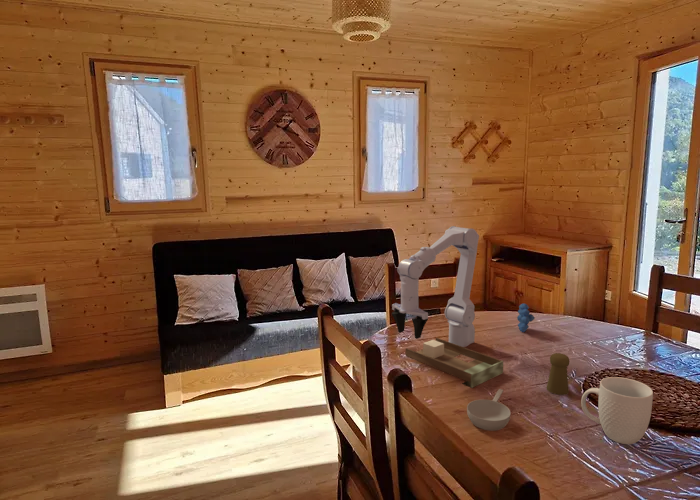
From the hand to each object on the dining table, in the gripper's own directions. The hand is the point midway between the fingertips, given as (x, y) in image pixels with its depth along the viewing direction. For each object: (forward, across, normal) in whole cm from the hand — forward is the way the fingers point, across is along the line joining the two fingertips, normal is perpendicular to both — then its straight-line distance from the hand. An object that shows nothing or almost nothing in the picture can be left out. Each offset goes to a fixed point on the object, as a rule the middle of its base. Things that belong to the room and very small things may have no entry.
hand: (409, 334), depth 157 cm
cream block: (+8, +3, +8) cm, 12 cm away
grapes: (+10, +10, +56) cm, 58 cm away
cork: (+10, +42, +18) cm, 47 cm away
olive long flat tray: (+10, +11, +8) cm, 17 cm away
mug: (+10, +63, +6) cm, 64 cm away
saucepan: (+10, +38, -9) cm, 40 cm away
